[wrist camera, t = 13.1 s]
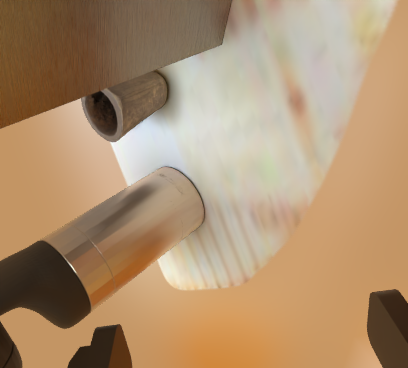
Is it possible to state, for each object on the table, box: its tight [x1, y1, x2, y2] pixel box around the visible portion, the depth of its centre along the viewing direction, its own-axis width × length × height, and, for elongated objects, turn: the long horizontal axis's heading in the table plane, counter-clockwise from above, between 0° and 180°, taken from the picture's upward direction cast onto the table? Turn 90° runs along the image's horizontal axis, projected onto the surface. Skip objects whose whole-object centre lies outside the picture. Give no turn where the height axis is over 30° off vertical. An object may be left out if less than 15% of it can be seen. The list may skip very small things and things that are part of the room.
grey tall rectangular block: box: [0, 0, 232, 129], centre depth 22 cm, size 8×7×35 cm
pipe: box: [81, 71, 167, 142], centre depth 43 cm, size 6×13×8 cm, turn 132°
